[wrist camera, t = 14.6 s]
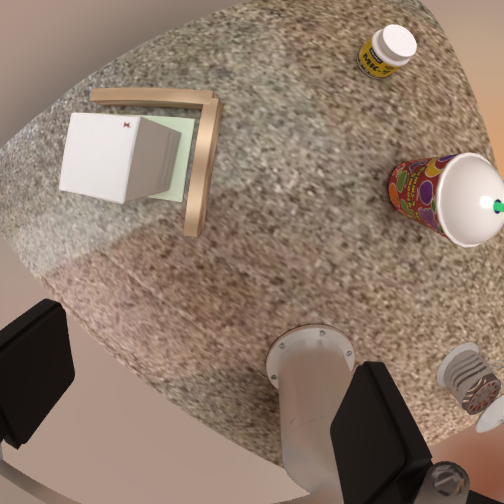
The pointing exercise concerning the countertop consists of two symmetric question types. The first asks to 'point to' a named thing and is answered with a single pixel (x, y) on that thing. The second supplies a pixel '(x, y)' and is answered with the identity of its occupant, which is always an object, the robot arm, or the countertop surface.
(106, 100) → the wooden corner guide
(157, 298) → the countertop surface
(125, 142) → the supplement box
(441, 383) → the french press
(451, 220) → the smoothie
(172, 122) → the pad
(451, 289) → the countertop surface
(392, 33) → the supplement bottle
